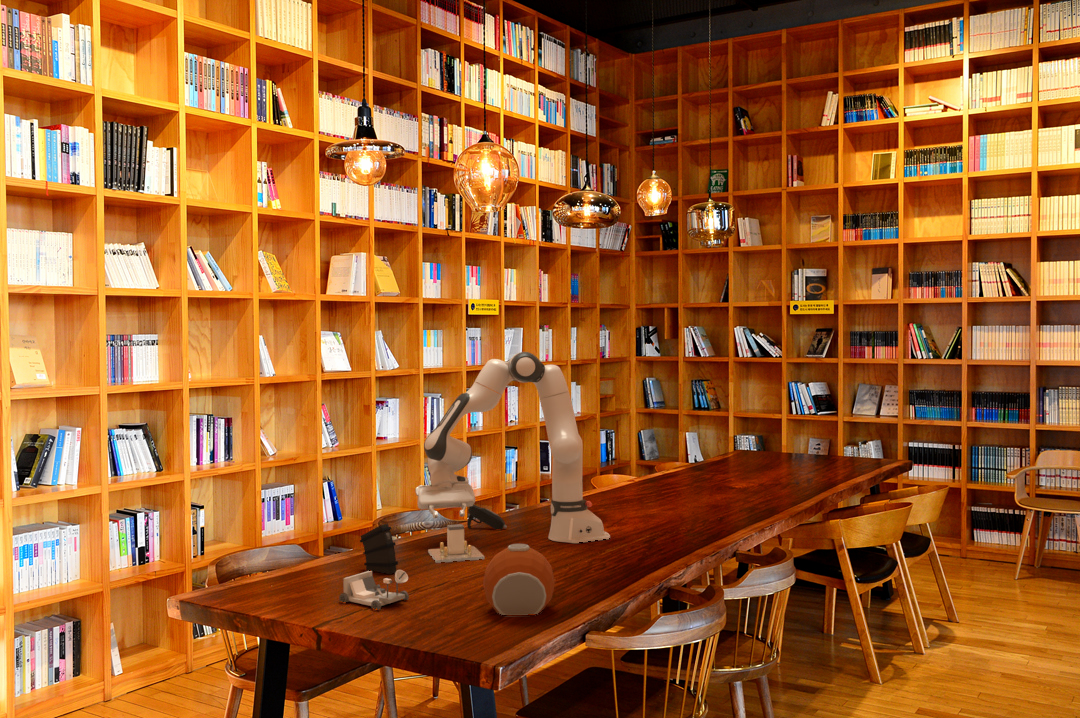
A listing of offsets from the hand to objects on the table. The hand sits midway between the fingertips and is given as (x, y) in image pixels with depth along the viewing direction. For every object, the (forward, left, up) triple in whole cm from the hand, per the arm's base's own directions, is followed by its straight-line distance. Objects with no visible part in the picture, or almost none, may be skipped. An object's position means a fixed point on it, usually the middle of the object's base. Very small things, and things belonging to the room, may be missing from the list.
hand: (449, 516), depth 310 cm
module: (0, +11, -10) cm, 15 cm away
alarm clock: (-4, +77, -11) cm, 78 cm away
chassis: (0, +11, -11) cm, 16 cm away
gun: (-20, -28, -12) cm, 36 cm away
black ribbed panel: (+27, +23, -11) cm, 37 cm away
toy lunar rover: (+31, +57, -12) cm, 66 cm away
